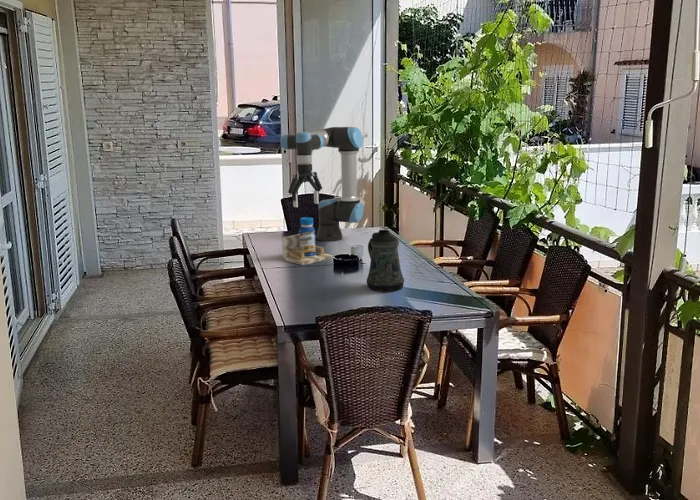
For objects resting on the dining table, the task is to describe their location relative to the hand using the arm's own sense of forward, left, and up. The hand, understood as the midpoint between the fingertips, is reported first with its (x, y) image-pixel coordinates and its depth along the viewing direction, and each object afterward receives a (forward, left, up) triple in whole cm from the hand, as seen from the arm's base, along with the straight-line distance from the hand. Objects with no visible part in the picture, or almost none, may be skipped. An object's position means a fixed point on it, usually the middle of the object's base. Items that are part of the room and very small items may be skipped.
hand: (306, 205), depth 348 cm
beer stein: (+10, +64, -28) cm, 71 cm away
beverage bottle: (0, 0, -27) cm, 27 cm away
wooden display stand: (0, 0, -28) cm, 28 cm away
